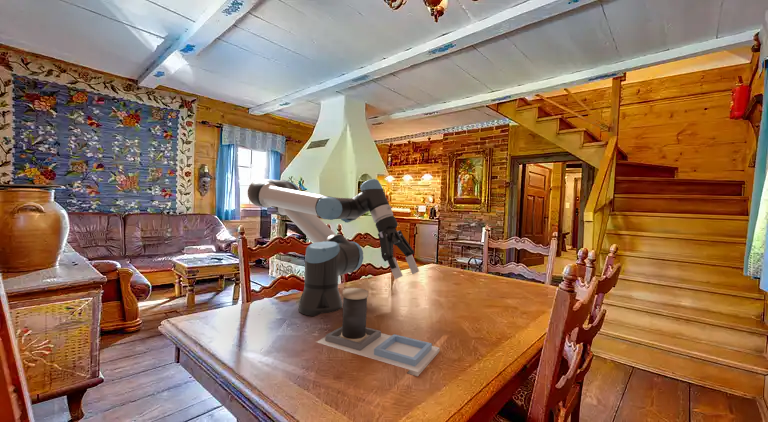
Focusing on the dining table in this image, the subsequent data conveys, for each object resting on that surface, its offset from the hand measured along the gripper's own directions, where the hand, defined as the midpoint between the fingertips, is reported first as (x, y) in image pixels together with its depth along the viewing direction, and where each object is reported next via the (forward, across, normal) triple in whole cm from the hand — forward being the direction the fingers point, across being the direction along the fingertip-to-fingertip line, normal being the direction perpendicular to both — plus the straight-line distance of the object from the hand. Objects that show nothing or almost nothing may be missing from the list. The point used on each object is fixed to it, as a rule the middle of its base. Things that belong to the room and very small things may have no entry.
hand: (407, 275), depth 116 cm
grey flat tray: (+16, -28, +3) cm, 32 cm away
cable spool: (+11, -28, +9) cm, 32 cm away
